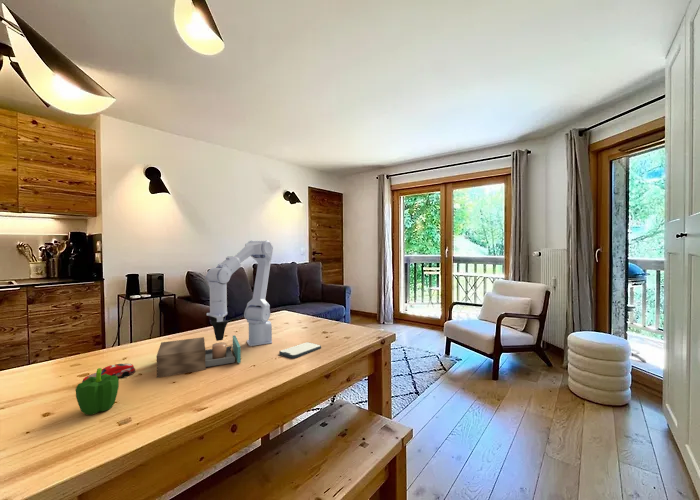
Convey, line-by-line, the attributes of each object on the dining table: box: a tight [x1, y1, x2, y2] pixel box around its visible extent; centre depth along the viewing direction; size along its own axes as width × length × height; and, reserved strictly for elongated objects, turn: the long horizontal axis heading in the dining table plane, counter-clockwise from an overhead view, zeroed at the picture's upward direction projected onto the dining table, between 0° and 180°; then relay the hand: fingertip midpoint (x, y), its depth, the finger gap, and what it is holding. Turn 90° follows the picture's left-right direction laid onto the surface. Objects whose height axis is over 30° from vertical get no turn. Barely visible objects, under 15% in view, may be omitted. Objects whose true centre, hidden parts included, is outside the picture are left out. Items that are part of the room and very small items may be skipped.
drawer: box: [205, 335, 242, 368], centre depth 113 cm, size 14×16×6 cm
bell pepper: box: [75, 367, 120, 416], centre depth 78 cm, size 8×8×10 cm
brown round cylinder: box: [211, 342, 227, 359], centre depth 113 cm, size 5×5×5 cm
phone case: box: [278, 341, 322, 360], centre depth 122 cm, size 9×2×16 cm
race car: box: [81, 363, 136, 383], centre depth 97 cm, size 13×5×4 cm, turn 142°
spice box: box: [155, 336, 206, 378], centre depth 108 cm, size 14×16×7 cm
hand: (218, 337), depth 113 cm, fingers open, 7 cm apart
